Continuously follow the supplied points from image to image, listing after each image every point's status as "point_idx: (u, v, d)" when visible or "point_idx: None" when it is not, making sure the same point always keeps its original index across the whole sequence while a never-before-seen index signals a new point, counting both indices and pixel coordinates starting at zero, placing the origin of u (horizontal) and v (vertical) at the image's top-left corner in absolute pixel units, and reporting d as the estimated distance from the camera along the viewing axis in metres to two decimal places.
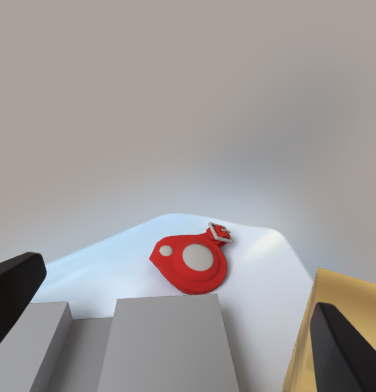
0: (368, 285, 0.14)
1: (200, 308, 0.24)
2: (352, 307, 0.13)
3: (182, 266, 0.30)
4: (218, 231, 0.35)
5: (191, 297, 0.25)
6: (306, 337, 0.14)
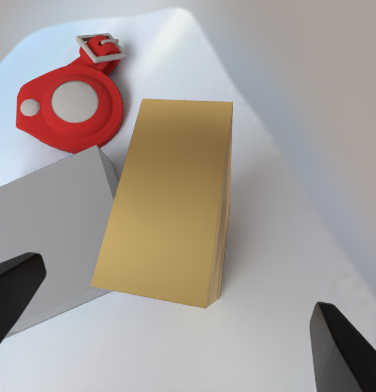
0: (217, 110, 0.08)
1: (77, 171, 0.19)
2: (178, 169, 0.07)
3: (58, 123, 0.21)
4: (96, 47, 0.23)
5: (65, 161, 0.19)
6: None
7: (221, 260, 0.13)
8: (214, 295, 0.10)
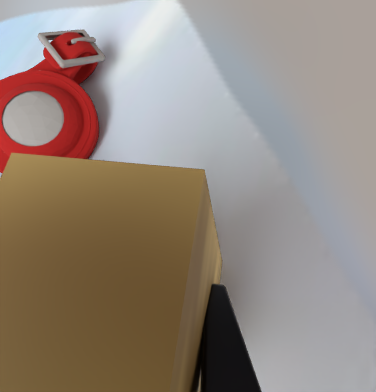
0: (167, 191, 0.03)
1: None
2: (55, 362, 0.03)
3: (10, 147, 0.17)
4: (65, 47, 0.18)
5: None
6: None
7: None
8: None
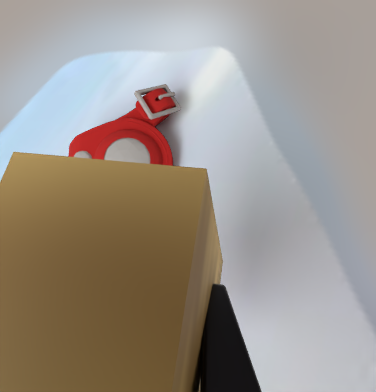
0: (170, 190, 0.03)
1: None
2: (58, 361, 0.03)
3: None
4: (153, 102, 0.23)
5: None
6: None
7: None
8: None
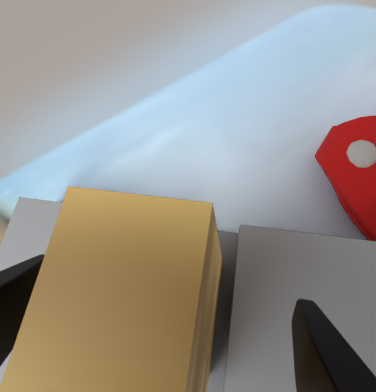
0: (186, 218, 0.05)
1: None
2: (112, 337, 0.04)
3: None
4: None
5: None
6: None
7: (208, 355, 0.10)
8: None
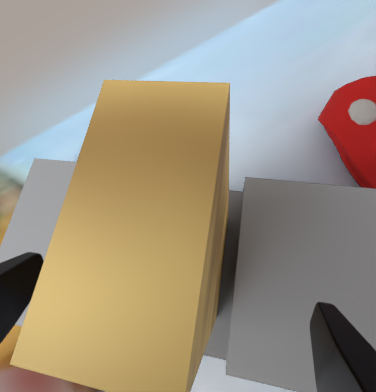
0: (207, 95, 0.06)
1: None
2: (149, 181, 0.05)
3: None
4: None
5: None
6: None
7: (217, 281, 0.11)
8: (206, 339, 0.08)
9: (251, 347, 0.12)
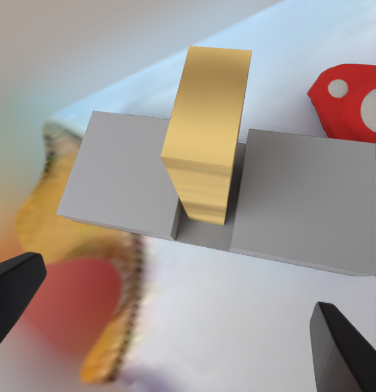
0: (241, 55, 0.12)
1: (349, 158, 0.20)
2: (215, 91, 0.11)
3: (355, 120, 0.21)
4: None
5: (340, 142, 0.20)
6: None
7: None
8: None
9: (247, 232, 0.19)
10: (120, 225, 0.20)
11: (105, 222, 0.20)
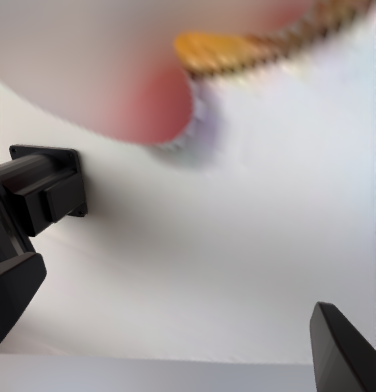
0: None
1: None
2: None
3: None
4: None
5: None
6: None
7: None
8: None
9: None
10: None
11: None
